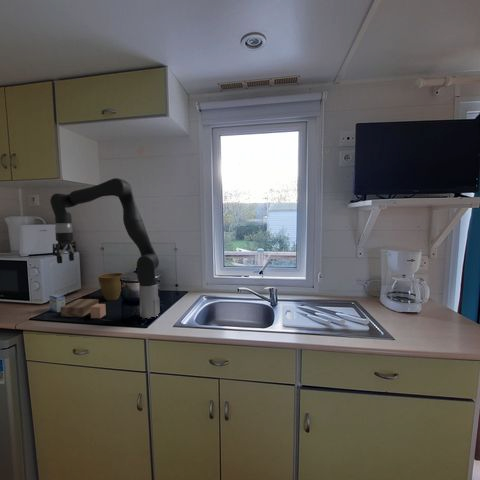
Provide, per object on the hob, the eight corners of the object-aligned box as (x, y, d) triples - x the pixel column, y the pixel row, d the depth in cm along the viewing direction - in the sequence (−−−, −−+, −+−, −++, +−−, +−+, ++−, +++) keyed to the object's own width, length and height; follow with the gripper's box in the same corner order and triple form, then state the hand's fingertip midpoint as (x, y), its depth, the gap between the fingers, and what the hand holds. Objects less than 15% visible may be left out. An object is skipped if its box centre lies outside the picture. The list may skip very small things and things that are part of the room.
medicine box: (49, 310, 140) (48, 295, 140) (58, 307, 144) (57, 293, 144) (57, 312, 137) (56, 297, 136) (65, 310, 141) (65, 295, 140)
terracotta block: (105, 314, 134) (105, 304, 133) (100, 318, 129) (99, 307, 128) (96, 314, 134) (96, 303, 134) (91, 318, 129) (90, 307, 129)
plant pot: (129, 298, 162) (128, 274, 161) (105, 304, 150) (104, 278, 149) (118, 294, 171) (117, 271, 170) (95, 299, 159) (93, 275, 158)
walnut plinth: (98, 307, 145) (98, 299, 144) (82, 316, 131) (82, 307, 130) (79, 307, 145) (78, 298, 145) (61, 316, 131) (60, 307, 131)
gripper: (61, 232, 123) (62, 264, 124) (80, 231, 137) (81, 259, 139) (46, 232, 123) (48, 264, 125) (67, 231, 138) (68, 259, 139)
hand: (65, 261), depth 132 cm, fingers open, 8 cm apart
